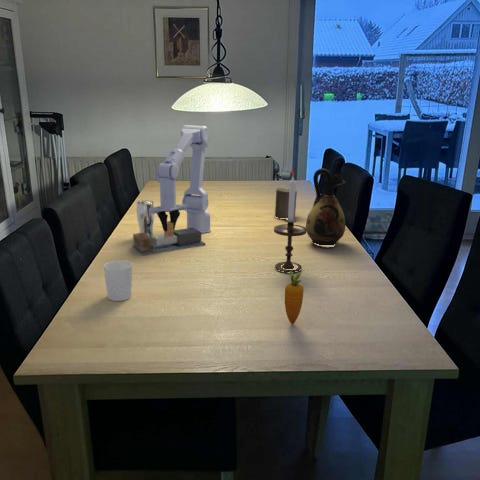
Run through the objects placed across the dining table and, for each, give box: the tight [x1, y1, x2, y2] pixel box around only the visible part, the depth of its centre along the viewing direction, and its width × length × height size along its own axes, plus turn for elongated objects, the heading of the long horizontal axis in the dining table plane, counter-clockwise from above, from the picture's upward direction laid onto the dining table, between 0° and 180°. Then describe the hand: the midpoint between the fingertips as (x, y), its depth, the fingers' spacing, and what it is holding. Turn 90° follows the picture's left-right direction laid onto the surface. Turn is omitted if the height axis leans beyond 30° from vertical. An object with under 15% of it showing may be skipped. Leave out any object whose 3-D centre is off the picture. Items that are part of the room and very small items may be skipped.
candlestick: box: [273, 168, 307, 272], centre depth 168 cm, size 11×11×35 cm
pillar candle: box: [274, 186, 298, 218], centre depth 236 cm, size 10×10×15 cm
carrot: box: [284, 271, 305, 325], centre depth 131 cm, size 5×5×15 cm
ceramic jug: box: [305, 167, 346, 245], centre depth 196 cm, size 17×15×30 cm
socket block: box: [132, 233, 154, 252], centre depth 188 cm, size 4×9×5 cm, turn 31°
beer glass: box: [136, 200, 155, 237], centre depth 200 cm, size 7×7×15 cm
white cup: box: [103, 259, 133, 302], centre depth 146 cm, size 8×8×10 cm
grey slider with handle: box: [152, 220, 179, 246], centre depth 193 cm, size 16×4×8 cm, turn 121°
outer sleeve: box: [131, 227, 206, 256], centre depth 193 cm, size 26×11×5 cm, turn 121°
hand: (168, 230), depth 192 cm, fingers closed on grey slider with handle, 2 cm apart
